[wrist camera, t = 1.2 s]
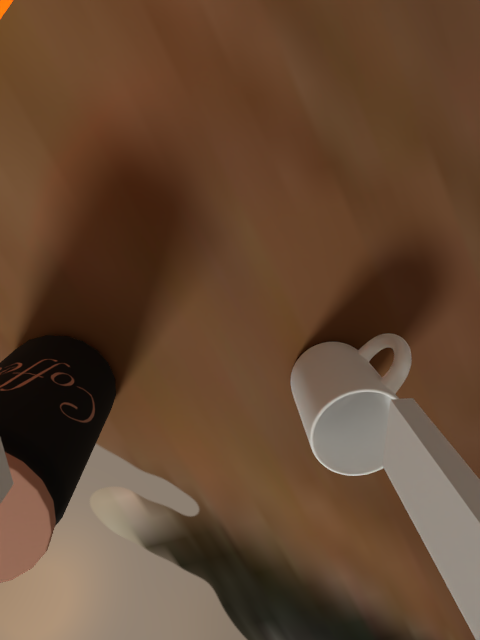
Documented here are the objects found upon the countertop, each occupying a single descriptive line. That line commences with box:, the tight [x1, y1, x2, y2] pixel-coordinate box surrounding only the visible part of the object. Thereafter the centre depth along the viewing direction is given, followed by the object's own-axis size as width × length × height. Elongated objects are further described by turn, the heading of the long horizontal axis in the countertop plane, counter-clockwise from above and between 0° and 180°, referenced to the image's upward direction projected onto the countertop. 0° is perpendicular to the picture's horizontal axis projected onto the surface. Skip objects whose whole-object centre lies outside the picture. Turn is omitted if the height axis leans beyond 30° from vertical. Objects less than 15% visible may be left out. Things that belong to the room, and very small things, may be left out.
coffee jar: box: [0, 336, 116, 583], centre depth 33 cm, size 11×11×18 cm
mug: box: [291, 333, 412, 476], centre depth 37 cm, size 12×8×10 cm
